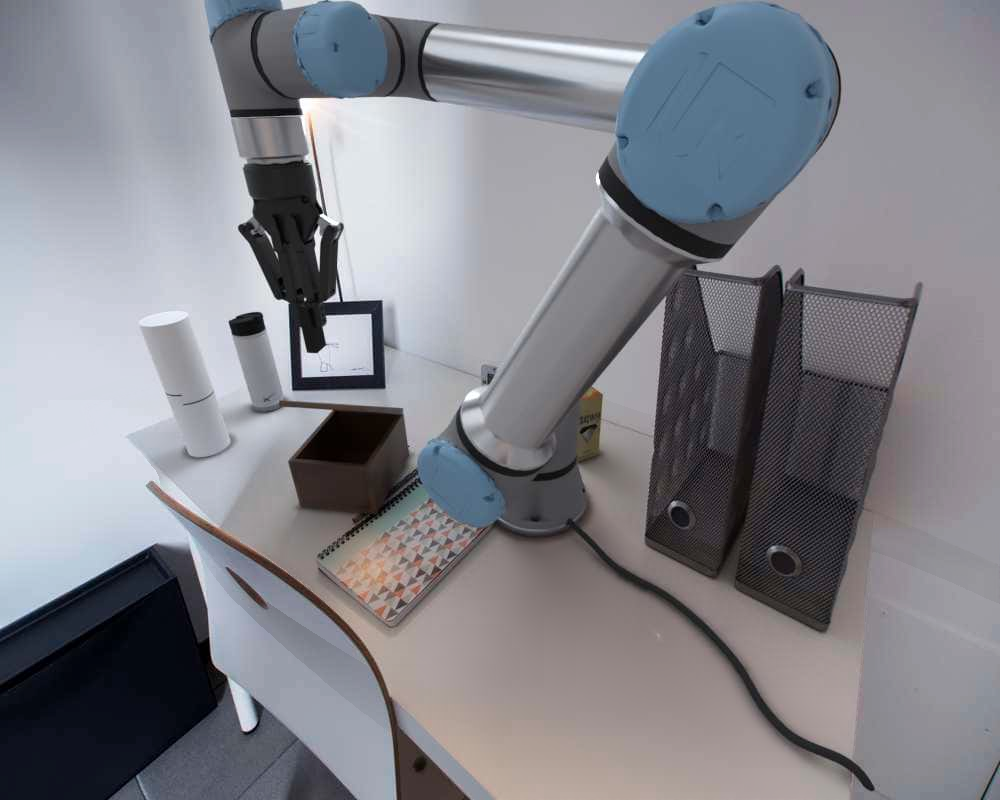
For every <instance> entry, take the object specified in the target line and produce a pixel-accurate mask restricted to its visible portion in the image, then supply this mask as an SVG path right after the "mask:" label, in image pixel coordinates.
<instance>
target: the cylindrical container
mask: <svg viewBox="0 0 1000 800" xmlns="http://www.w3.org/2000/svg"><path fill="white" fill-rule="evenodd" d="M138 326H139V328H140V331H141V333H142V336H143V339H144V342H145V345H146V347H147V349H148V352H149V354H150V357H151V360H152V363H153V364H154V368H155V370H156V372H157V375H158V378H159V381H160V383H161V385H162V388H163V391H164V393H165V396H166V399H167V401H168V403H169V406H170V409H171V411H172V414H173V417H174V419H175V423H176V425H177V428H178V430H179V433H180V436H181V438H182V441H183V442H184V446H185V448H186V450H187V453H188V455H189V456H190V457H194V458H207V457H210V456H214V455H217V454H220V453H221V452H223V451H225V450H226V449H227V448H228V447H229V446H230V444H231V438H230V437H231V436H230V435H229V432H228V429H227V426H226V423H225V420H224V417H223V414H222V411H221V408H220V405H219V401H218V399H217V395H216V392H215V390H214V387H213V384H212V381H211V378H210V375H209V371H208V368H207V366H206V363H205V360H204V357H203V354H202V351H201V348H200V344H199V342H198V339H197V335H196V332H195V330H194V326H193V324H192V320H191V317H190V315H189V313H188V312H187V311H184V310H169V311H162V312H158V313H154V314H151V315H147V316H145V317H143V318H141V319H140V320H139V321H138Z"/></svg>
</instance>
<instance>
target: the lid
mask: <svg viewBox="0 0 1000 800" xmlns="http://www.w3.org/2000/svg"><path fill="white" fill-rule="evenodd" d="M279 406H281V407H283V408H299V409H300V408H301V409H312V410H326V411H327V410H329V411H332V410H340V411H355V412H382V413H404V407H397V406H396V407H394V406H381V405H379V406H378V405H376V406H375V405H363V404H350V403H349V404H347V403H335V402H333V403H332V402H315V401H298V400H285V401H282V400H280V401H279ZM281 407H280V408H281Z"/></svg>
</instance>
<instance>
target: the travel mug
mask: <svg viewBox="0 0 1000 800" xmlns="http://www.w3.org/2000/svg"><path fill="white" fill-rule="evenodd" d="M264 319H265V318H264V314H263V313H262V312H261V311H252V312H251V311H250V312H246V313H242V314H238V315H236V316H235V318H232V319H229V320H228V325H229V329H230V332H231V336H232V340H233V343H234V347H235V351H236V353H237V357H238V360H239V364H240V368H241V370H242V374H243V377H244V378H243V379H244V380H245V384H246V388H247V391H248V395H249V399H250V401H251V404H252V408H253V410H255V411H257V412H262V413H263V412H267V413H268V412H271V411H275V410H277V409H279V408H281V406H279V401H280V400H282V401H286V399H285V396H284V393H283V389H282V387H283V386H282V384H281V380H280V376H279V373H278V369H277V365H276V360H275V356H274V354H273V349H272V345H271V342H270V338H269V334H268V331H267V326H266V324H265V320H264Z"/></svg>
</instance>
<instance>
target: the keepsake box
mask: <svg viewBox="0 0 1000 800" xmlns="http://www.w3.org/2000/svg"><path fill="white" fill-rule="evenodd" d="M408 443H409V442H408V437H407V427H406V420H405V414H404V412H403V413H382V412H355V411H340V410H331V412H329V414H328V415H327V416H325V418H324V419H323V420H322V422H321V423H320V424H319V425H318V426H317V427H316V429H315V430H313V432H312V433H311V434H310V435H309V437H307V438H306V440H305V441H304V442H303V443H302V444H301V446H300V447H299V448H298V449H297V450H296V451H295V453H293V455H292V456H291V457H290V458H289V459H288V460H287V463H288V466H289V470H290V475H291V477H292V482H293V485H294V489H295V492H296V495H297V499H298V503H299V507H300V508H307V509H317V510H325V511H337V512H348V513H356V514H366V515H374V516H375V515H378V513H379V511H380V509H381V508H382V506H383V504H384V503H385V501H386V499H387V497H388V496H389V493H390V492H391V490H392V488H393V486H394V484H395V483H396V481H397V479H398V477H399V475H400V474H401V471H402V470H403V468H404V466H405V464H406V463H407V460H408V459H409V457H410V451H409V444H408Z"/></svg>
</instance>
